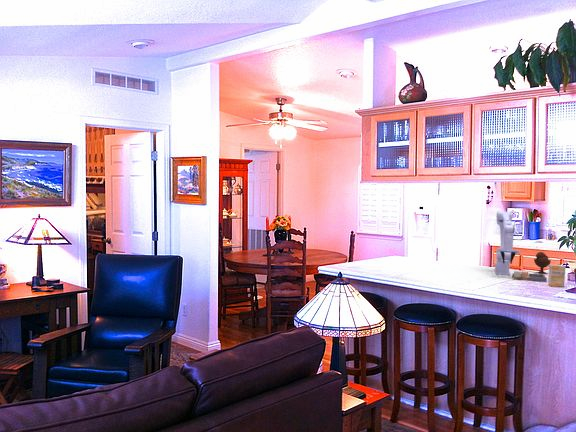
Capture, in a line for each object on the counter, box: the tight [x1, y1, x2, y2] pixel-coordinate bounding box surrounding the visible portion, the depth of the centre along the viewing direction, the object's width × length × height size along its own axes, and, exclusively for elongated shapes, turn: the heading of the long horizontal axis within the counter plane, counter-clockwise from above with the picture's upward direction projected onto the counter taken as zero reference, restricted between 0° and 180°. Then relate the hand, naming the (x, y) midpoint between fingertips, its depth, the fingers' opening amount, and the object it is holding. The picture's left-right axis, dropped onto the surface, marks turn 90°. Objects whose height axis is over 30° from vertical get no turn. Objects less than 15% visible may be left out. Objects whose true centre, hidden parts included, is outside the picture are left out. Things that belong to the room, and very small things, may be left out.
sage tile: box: [513, 270, 521, 276], centre depth 374 cm, size 4×4×2 cm
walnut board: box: [511, 272, 532, 282], centre depth 373 cm, size 10×14×2 cm
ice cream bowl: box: [533, 251, 552, 275], centre depth 396 cm, size 11×11×15 cm
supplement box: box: [547, 263, 566, 288], centre depth 348 cm, size 8×5×13 cm, turn 82°
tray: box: [528, 273, 548, 283], centre depth 371 cm, size 9×15×2 cm, turn 163°
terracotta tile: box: [521, 271, 529, 276], centre depth 373 cm, size 4×4×2 cm
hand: (507, 263), depth 375 cm, fingers open, 4 cm apart
